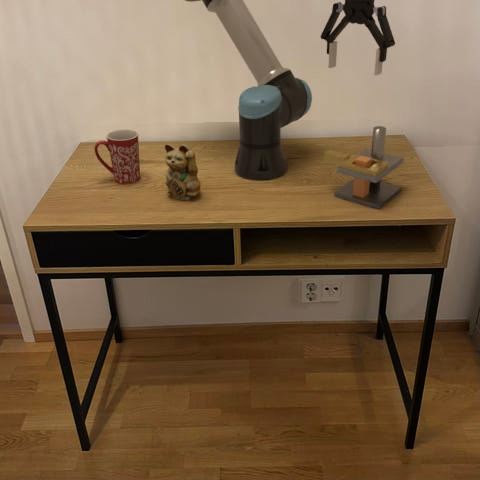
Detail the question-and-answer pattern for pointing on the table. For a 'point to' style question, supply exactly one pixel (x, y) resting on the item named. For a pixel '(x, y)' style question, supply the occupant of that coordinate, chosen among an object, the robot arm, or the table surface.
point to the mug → (122, 155)
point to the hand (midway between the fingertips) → (354, 70)
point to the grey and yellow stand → (368, 172)
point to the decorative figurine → (181, 172)
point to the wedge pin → (359, 184)
